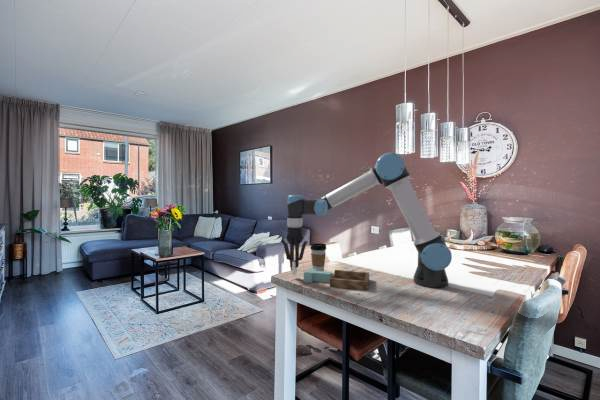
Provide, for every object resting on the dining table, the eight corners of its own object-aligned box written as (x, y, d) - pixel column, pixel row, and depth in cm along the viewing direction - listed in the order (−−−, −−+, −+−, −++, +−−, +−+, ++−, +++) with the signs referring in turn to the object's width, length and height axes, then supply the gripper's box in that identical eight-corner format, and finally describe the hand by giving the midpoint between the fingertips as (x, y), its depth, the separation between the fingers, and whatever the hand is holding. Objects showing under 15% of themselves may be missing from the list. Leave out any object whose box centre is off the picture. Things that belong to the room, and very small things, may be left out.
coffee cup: (325, 274, 156) (325, 245, 156) (308, 273, 158) (309, 245, 158) (326, 270, 165) (327, 242, 164) (311, 269, 166) (311, 242, 166)
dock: (369, 279, 149) (369, 272, 148) (367, 290, 133) (367, 282, 133) (335, 276, 153) (335, 269, 153) (329, 286, 138) (329, 278, 137)
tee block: (332, 278, 150) (332, 270, 150) (328, 284, 141) (328, 275, 141) (308, 276, 154) (308, 268, 153) (303, 282, 144) (303, 273, 144)
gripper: (309, 226, 151) (309, 273, 152) (284, 225, 155) (284, 270, 156) (305, 227, 144) (305, 277, 145) (279, 226, 147) (279, 274, 148)
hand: (294, 273), depth 150 cm, fingers closed
